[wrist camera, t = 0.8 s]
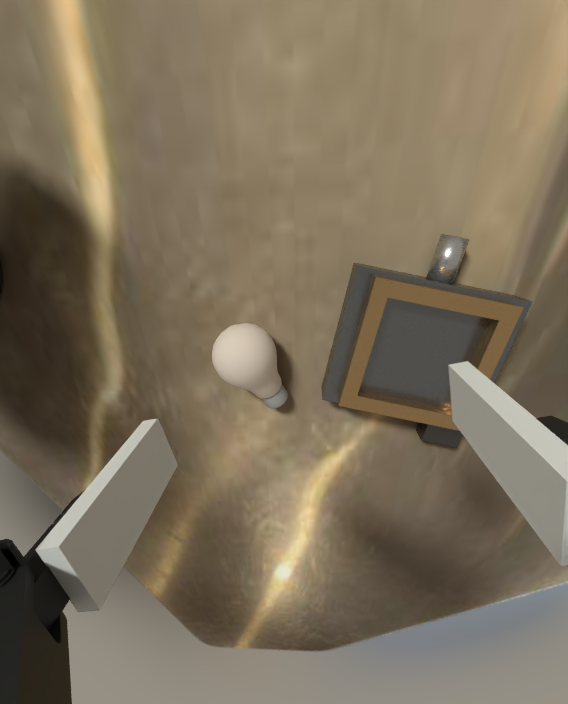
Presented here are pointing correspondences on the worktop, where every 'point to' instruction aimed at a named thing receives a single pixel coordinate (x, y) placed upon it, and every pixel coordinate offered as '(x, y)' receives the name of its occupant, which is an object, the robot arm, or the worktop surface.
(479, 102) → the worktop surface
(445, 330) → the grey brown-rimmed square tray
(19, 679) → the robot arm
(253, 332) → the light bulb
